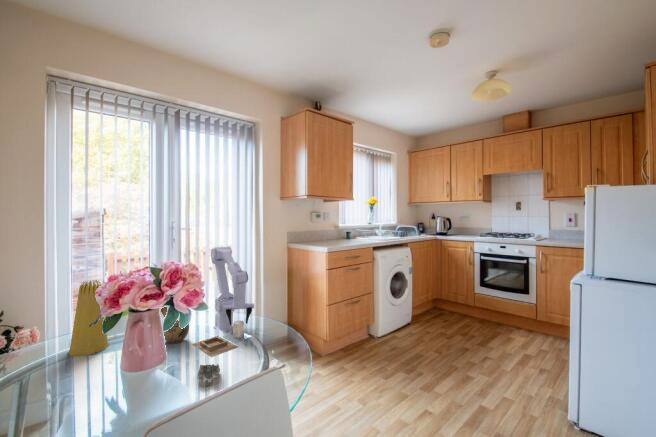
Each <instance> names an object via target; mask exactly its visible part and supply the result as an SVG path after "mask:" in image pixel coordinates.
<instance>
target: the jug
mask: <svg viewBox="0 0 656 437" xmlns="http://www.w3.org/2000/svg"><path fill="white" fill-rule="evenodd" d="M244 330H245V322H244V321H243V320H236V321H233V329H232V333H233V338H235V339H239V338H242V337H243V336H244V332H245V331H244Z"/></svg>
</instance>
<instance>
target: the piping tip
mask: <svg viewBox="0 0 656 437" xmlns="http://www.w3.org/2000/svg"><path fill="white" fill-rule="evenodd" d="M101 285H102V283H101V282H100V281H99V280H96V279H94V280H91V279H90V281H89V280H86V281H84V282H82V283H81V284H80V285H79V288H78V294H77V299H76V300H77V301H76V306H75V307H76V308H75V315H74V320H73V321H74V322H73V326H72V334H71V340H70V346H69V350H68V355H69V356H72V357H83V356H84V357H85V356H89V355H93V354H96V353H95V352H97V353H99V352H102V351H104V350H105V348H106V347H107V348H108V347H109V339H108V333H107V334H105V335H104V334H103V333H102V322H103V319H104V317H102V318H100V320H99V321H98V323H96V324H95V325H93V326H91V327H89V325H90V324H91V323H93V322H94V321H95V320H96V319H97V318H98V317H99V315H100V313H101V310H100V305H99V304H98V303H97V301H96V298H95V291H96V289H97V288H98V287H99V286H101ZM107 348H106V349H107ZM103 349H104V350H103ZM101 350H102V351H101ZM92 353H93V354H92Z"/></svg>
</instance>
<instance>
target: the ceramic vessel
mask: <svg viewBox="0 0 656 437" xmlns="http://www.w3.org/2000/svg"><path fill="white" fill-rule="evenodd" d="M166 312H167V307H164V308H162V309H161V311H160V313H161V314H162V316H163V318H164V317H165V315H166ZM189 332H190V323H189V324H188V325H187V326H186V327H185V328H183V329H181V328H180V327H179V321H178V320H177V321H176V323H175V324H174V326H173V327H172V328H171V329H169V330H168V331H166V332H164V336H165V339H164V341H165V342H167V343H170V344H178V343H181V342H183V341H184V340H185V339H186V337H187V336H188V335H189Z"/></svg>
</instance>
